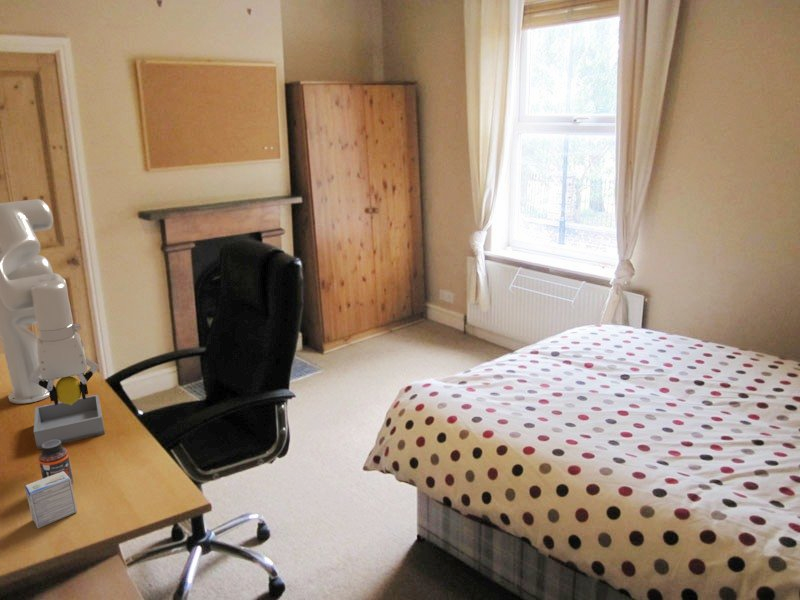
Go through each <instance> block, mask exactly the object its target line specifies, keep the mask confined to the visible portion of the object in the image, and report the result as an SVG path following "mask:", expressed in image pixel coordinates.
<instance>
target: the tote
mask: <svg viewBox="0 0 800 600" xmlns="http://www.w3.org/2000/svg"><path fill="white" fill-rule="evenodd" d="M102 413H103V412H102V406H101V401H100V398H99V394H94V395H93V394H92V395H88V396H86V399H83V398H82V397H80V398H79V399H78V400H77V401H76V402H74V404H73V405H69V404H64V403H62V402H61V401H58V404H57V405H55V404H54V403H50V404H45V405H41V406H35V407H34V420H33V421H34V422H33V435H34V440H35V446H36V449H37V450H42V448H41V446H42V444H43V443H45V442H47V441H50V440H60V441H61V445H63V444H67V443H71V442H76V441H79V440H84V439H88V438H93V437H98V436H102V435H105V434H106V432H105V431H106V430H105V425H104V420H103V419H104V418H103V414H102Z"/></svg>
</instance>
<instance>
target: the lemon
mask: <svg viewBox="0 0 800 600" xmlns="http://www.w3.org/2000/svg"><path fill="white" fill-rule="evenodd" d="M78 380H79V379H77V378H76V377H74V376H70V377H64V378H59V380H58V381H57V383H55V384H56V385H55V387H56V395H57V398H58V401H59V402H62V403H64V404H69V405H73V404H74V402H76V401H77V400H78V399H79V398H81V396H82V393H81V388H80V382H79V381H78Z"/></svg>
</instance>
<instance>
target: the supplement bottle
mask: <svg viewBox="0 0 800 600" xmlns="http://www.w3.org/2000/svg"><path fill="white" fill-rule="evenodd" d="M41 448H42V449H41V451H42V452H41V453H40V454H39V456H38V463H39V467H40V472H41V475H42V478H41V479H43V478H46V477H49V476H51V475H54V474H57V473H60V472H62V471H64V472H65V473H66V474H67V476H68V477H69V478H70V479H71V484H72V486H73V485H74V478H73V472H72V468H71V467H72V466H71V461H70V456H69V452H68V449H67V448H65V447H63V444H61V441H60V440H50V441H47V442H45V443H43V444H42V446H41Z"/></svg>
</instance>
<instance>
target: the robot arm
mask: <svg viewBox="0 0 800 600" xmlns="http://www.w3.org/2000/svg"><path fill="white" fill-rule="evenodd" d="M53 225H54V216H53V212H52V210H51V208H50V207H49V205H48V204H47V203H46V202H45V201H43V200H42V199H38V198H36V199H28V200H27V199H26V200H18V201H9V202H2V203H1V202H0V340H1V344H2V349H3V352H4V357H5V361H6V366H7V370H8V375H9V379H10V383H11V387H12V392H10V393H9V394H8V401H9V402H10V403H13V404H17V405H22V404H30V403H35V402H38V401H42V400H45V399H48V398H50V402H53V404H55V405H57V404H58V402H59V399H58V398H57V395H56V385H54V384H55V380H58V379H59V380H60V379H61V378H64V377H70V376H71V377H74V376H77V378H78V380H79V381H80V382H79V384H80V388H81V396H82V397H81V398H83V399H86V397H87V396H86V395H88V394H89V389H88V385H87V384H88V382H89V380H90V379H91V378H92V376H93V375H94V374H95V373H96V372H97V371H98V370H99V369H100V366H99V364H98V363H96V362H95V361H93V360H92V359H90V358H88V357H87V356H86V351H85V347H84V344H83V343H84V342H83V341H82V338H81V336H80V333H79V332H77V331H79V330H82V326H81V324H80V323H75V322H74V319H73V314H72V307H71V304H70V297H69V294H68V293H69V291H68V284H67V281H66V280H65V278H64V277H63V276H61V274H59V273H55V272H54V271H53V268H52V265H51V262H50V261H49V260H48V259H47V257H46V256H43V255H41V254H40V251H41V246H42V245H41V243H40V241H39V239H38V236H37V235H36V233H35V232H43V231H48V230H50V229H52V227H53ZM39 254H40V255H39ZM33 325H37V330H38V334H39V337H38V335H37V334H36V333H35V332H33V331H32V330H30V329H28V328H27V327H30V326H33ZM88 367H90V368H89V369H88Z"/></svg>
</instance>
